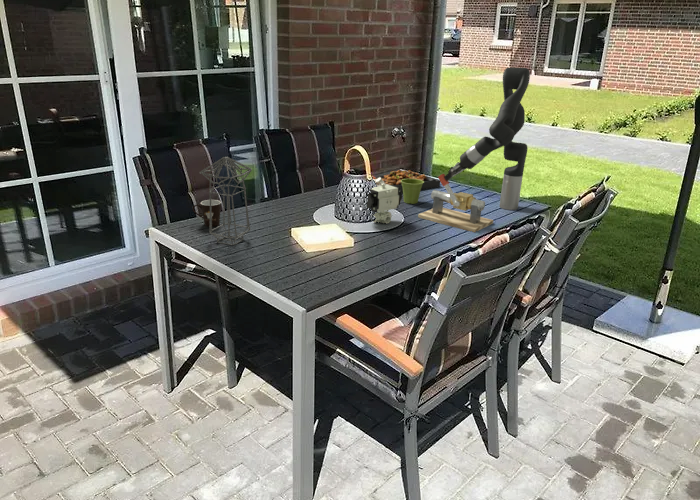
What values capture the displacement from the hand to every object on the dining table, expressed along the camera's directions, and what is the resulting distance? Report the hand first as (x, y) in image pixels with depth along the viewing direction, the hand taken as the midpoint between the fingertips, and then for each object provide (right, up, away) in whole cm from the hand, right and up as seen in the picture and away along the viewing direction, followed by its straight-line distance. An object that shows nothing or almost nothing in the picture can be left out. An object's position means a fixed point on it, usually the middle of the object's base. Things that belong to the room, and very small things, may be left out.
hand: (445, 178), depth 250 cm
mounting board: (+6, -18, +10) cm, 22 cm away
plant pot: (-12, -8, +36) cm, 38 cm away
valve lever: (+6, -13, 0) cm, 14 cm away
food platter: (-18, +3, +65) cm, 67 cm away
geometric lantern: (-93, -29, -27) cm, 101 cm away
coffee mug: (-106, -21, -7) cm, 108 cm away
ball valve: (-29, -20, +3) cm, 35 cm away
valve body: (+6, -17, +8) cm, 20 cm away
